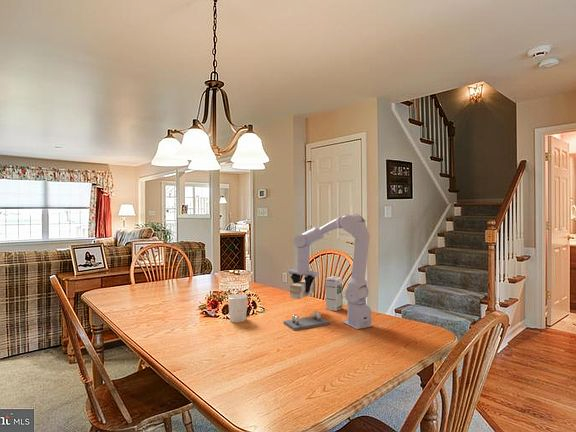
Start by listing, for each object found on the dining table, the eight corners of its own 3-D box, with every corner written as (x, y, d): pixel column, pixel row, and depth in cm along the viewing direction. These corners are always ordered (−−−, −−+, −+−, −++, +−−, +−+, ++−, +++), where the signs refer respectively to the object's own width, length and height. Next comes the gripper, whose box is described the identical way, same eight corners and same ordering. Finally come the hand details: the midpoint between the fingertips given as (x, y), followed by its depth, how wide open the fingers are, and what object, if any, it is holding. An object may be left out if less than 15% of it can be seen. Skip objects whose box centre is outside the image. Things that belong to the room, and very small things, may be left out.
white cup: (224, 321, 150) (224, 297, 149) (235, 316, 157) (235, 293, 156) (240, 324, 146) (240, 299, 146) (251, 318, 153) (251, 295, 153)
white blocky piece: (299, 299, 154) (299, 286, 154) (290, 297, 157) (290, 285, 156) (314, 292, 166) (314, 280, 166) (305, 291, 168) (305, 279, 168)
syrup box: (336, 311, 164) (336, 279, 163) (325, 309, 167) (325, 277, 167) (342, 308, 168) (342, 277, 168) (331, 306, 172) (331, 275, 172)
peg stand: (317, 318, 154) (317, 308, 154) (329, 324, 146) (329, 314, 146) (283, 323, 147) (283, 313, 147) (294, 330, 139) (294, 320, 139)
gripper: (321, 261, 160) (321, 291, 161) (293, 258, 168) (293, 287, 168) (314, 263, 154) (314, 295, 155) (285, 260, 162) (285, 290, 162)
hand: (302, 291), depth 161 cm, fingers closed on white blocky piece, 4 cm apart
